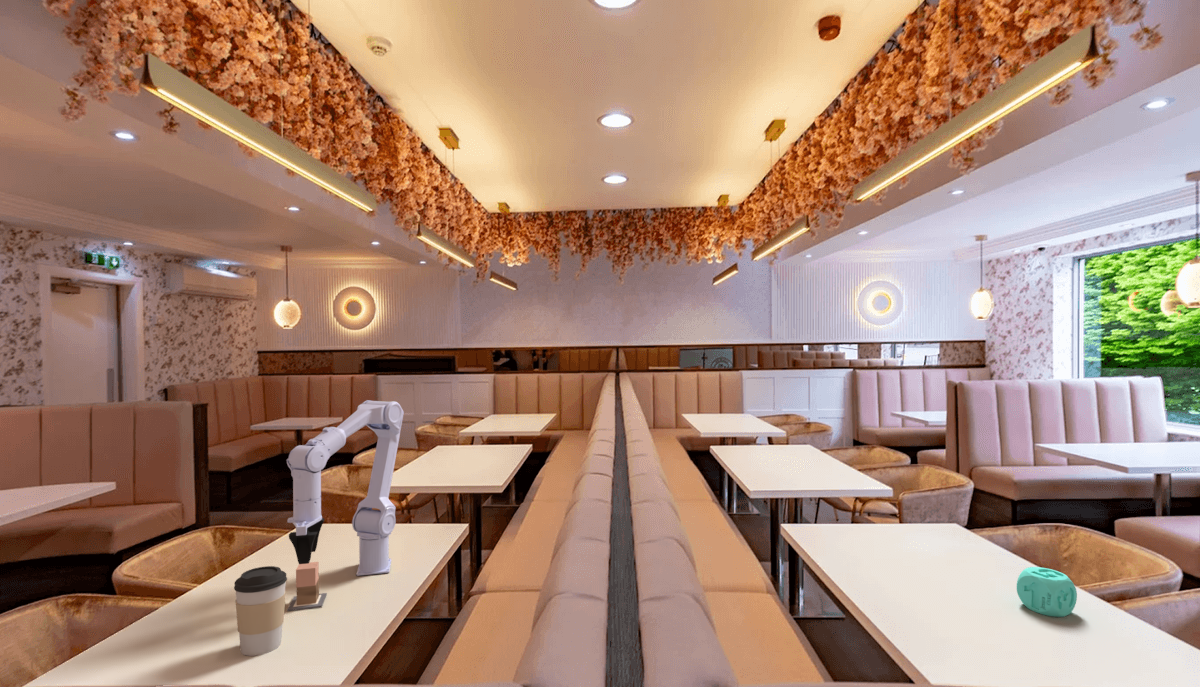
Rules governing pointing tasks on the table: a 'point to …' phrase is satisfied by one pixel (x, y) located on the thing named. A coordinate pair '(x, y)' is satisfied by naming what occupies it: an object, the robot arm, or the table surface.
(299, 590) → the walnut block
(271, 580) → the coffee cup
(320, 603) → the mat
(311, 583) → the terracotta block
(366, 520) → the robot arm
